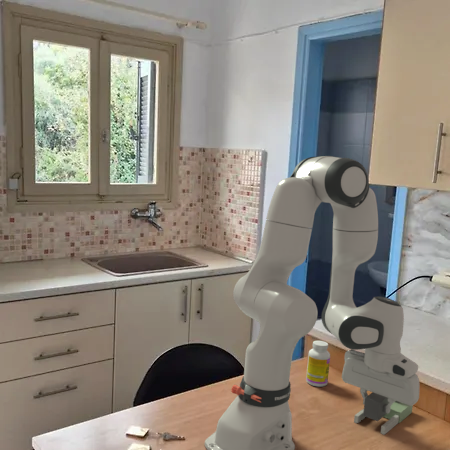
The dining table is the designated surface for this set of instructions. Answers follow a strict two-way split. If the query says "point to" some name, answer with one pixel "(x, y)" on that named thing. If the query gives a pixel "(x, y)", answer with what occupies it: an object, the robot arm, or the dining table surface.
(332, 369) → the dining table surface
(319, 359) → the supplement bottle
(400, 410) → the two-prong power plug
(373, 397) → the grey rectangular block
